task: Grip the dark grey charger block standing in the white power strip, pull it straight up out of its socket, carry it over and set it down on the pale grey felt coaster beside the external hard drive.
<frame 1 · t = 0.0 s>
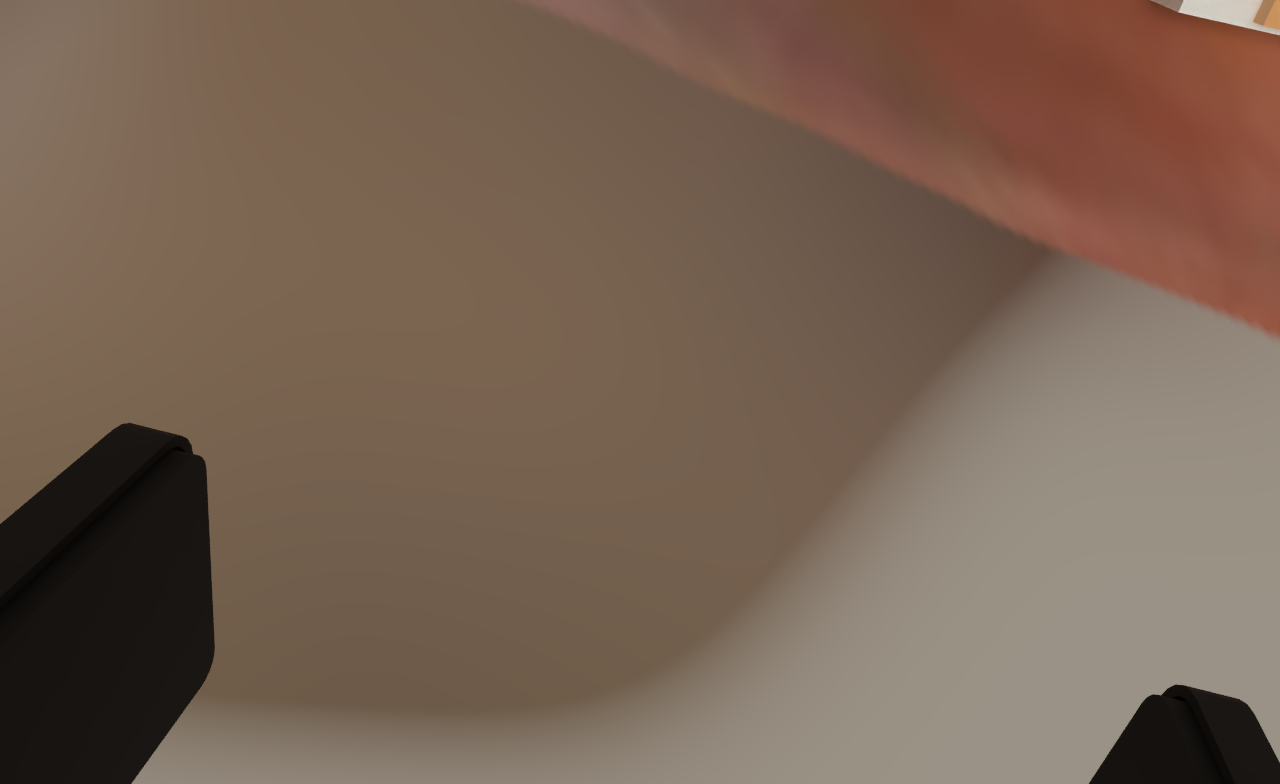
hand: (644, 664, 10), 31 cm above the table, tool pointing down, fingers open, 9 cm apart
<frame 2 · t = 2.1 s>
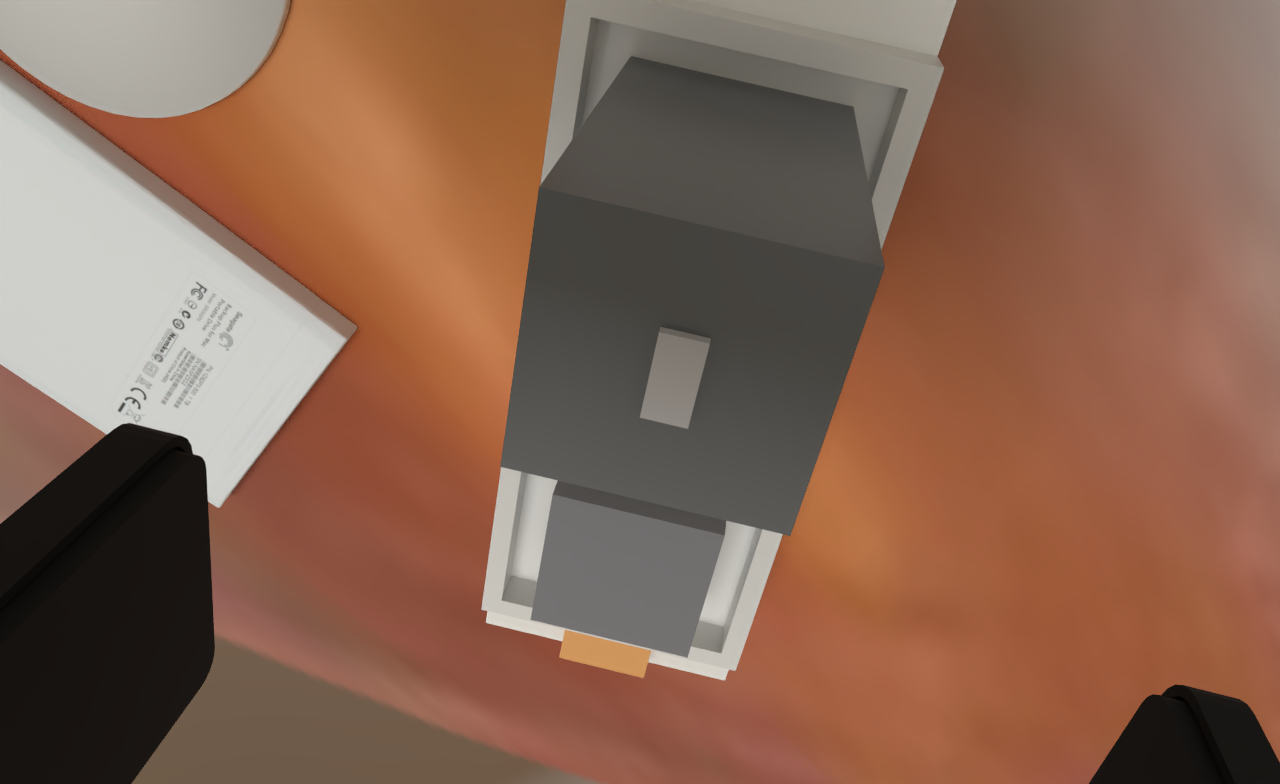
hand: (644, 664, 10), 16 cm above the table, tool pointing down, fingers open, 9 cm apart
external hard drive: (119, 274, 28), on the table
power strip: (689, 297, 25), on the table
charger: (716, 188, 20), point 3 cm above the table, touching power strip
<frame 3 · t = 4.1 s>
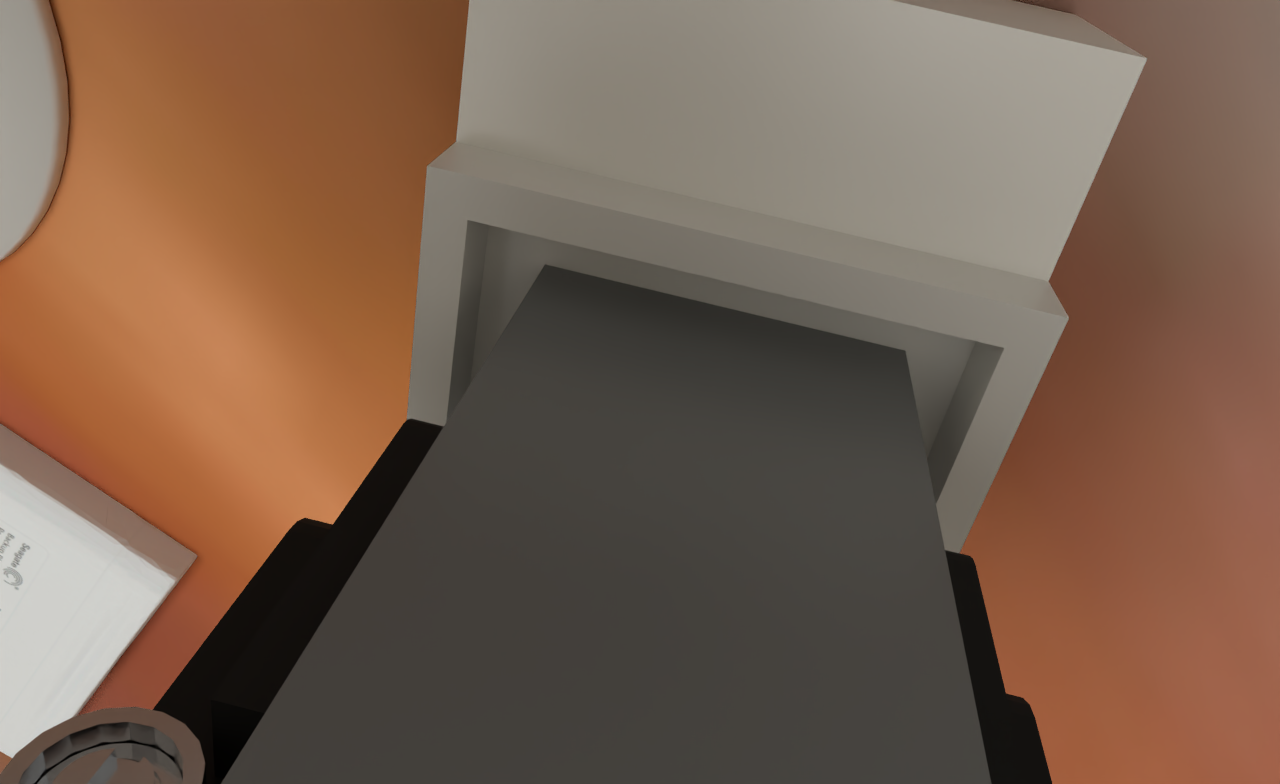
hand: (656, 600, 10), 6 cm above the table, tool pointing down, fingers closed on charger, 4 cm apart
power strip: (656, 545, 18), on the table
charger: (685, 456, 13), point 3 cm above the table, touching gripper, power strip
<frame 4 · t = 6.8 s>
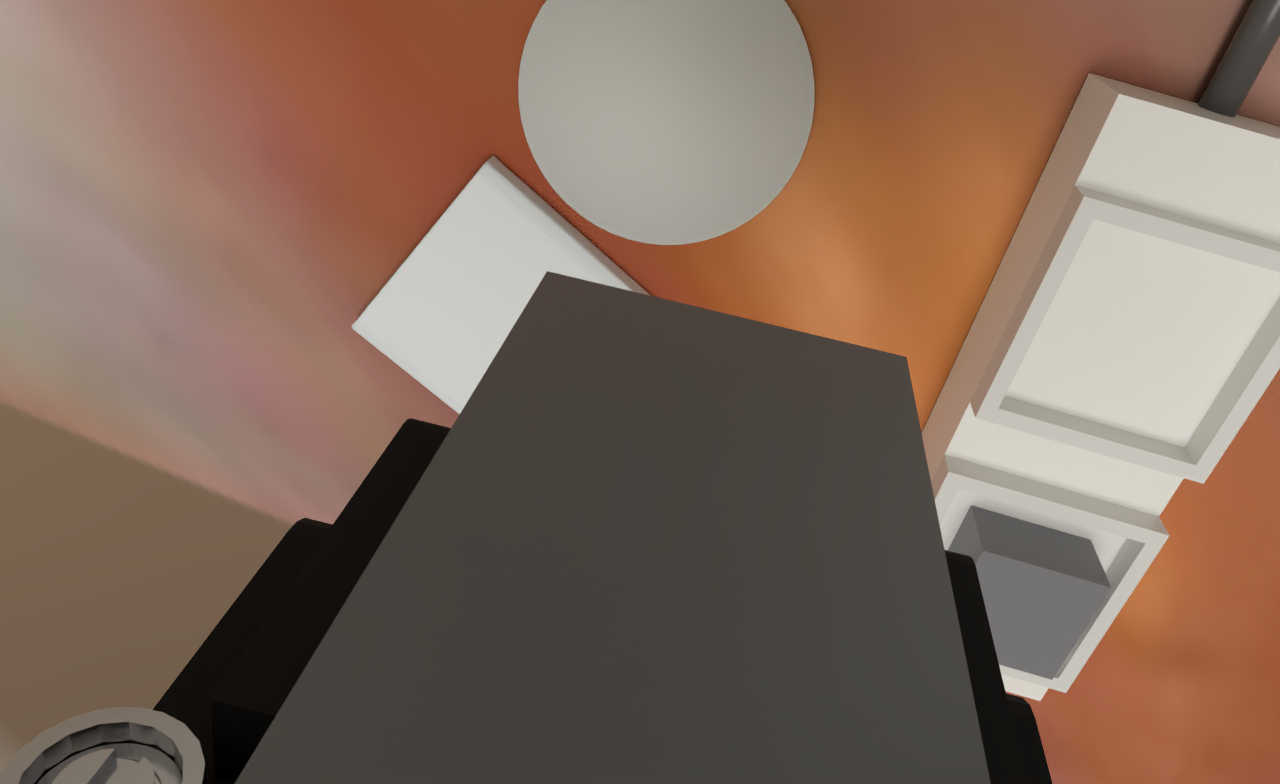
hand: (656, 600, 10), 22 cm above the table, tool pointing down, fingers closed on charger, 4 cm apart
external hard drive: (565, 349, 35), on the table
coaster: (665, 100, 30), on the table
power strip: (1051, 400, 32), on the table
charger: (686, 462, 13), point 19 cm above the table, touching gripper
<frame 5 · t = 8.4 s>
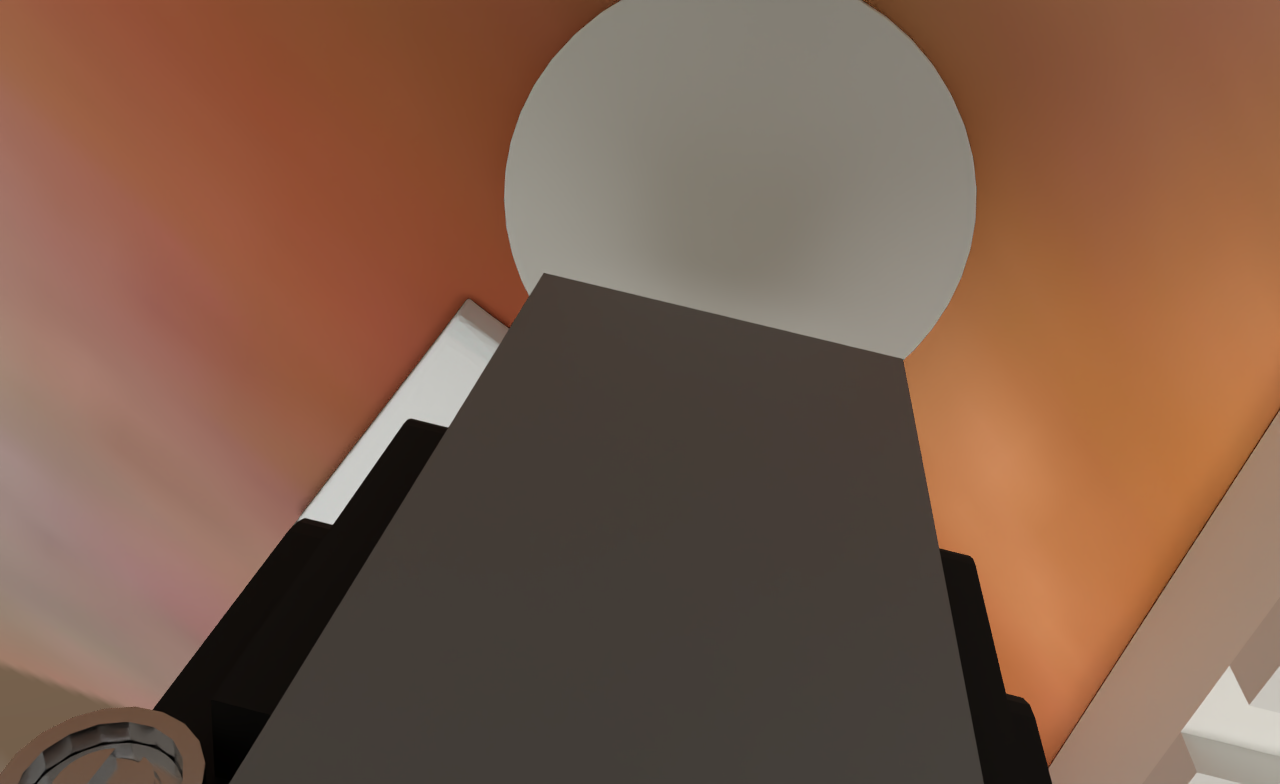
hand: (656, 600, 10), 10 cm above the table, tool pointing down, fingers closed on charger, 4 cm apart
external hard drive: (591, 541, 25), on the table
coaster: (733, 216, 19), on the table
charger: (683, 463, 13), point 8 cm above the table, touching gripper
when the fingers open (5 cm above the table, at t = 9.8 s): charger drops 2 cm, resting on coaster.
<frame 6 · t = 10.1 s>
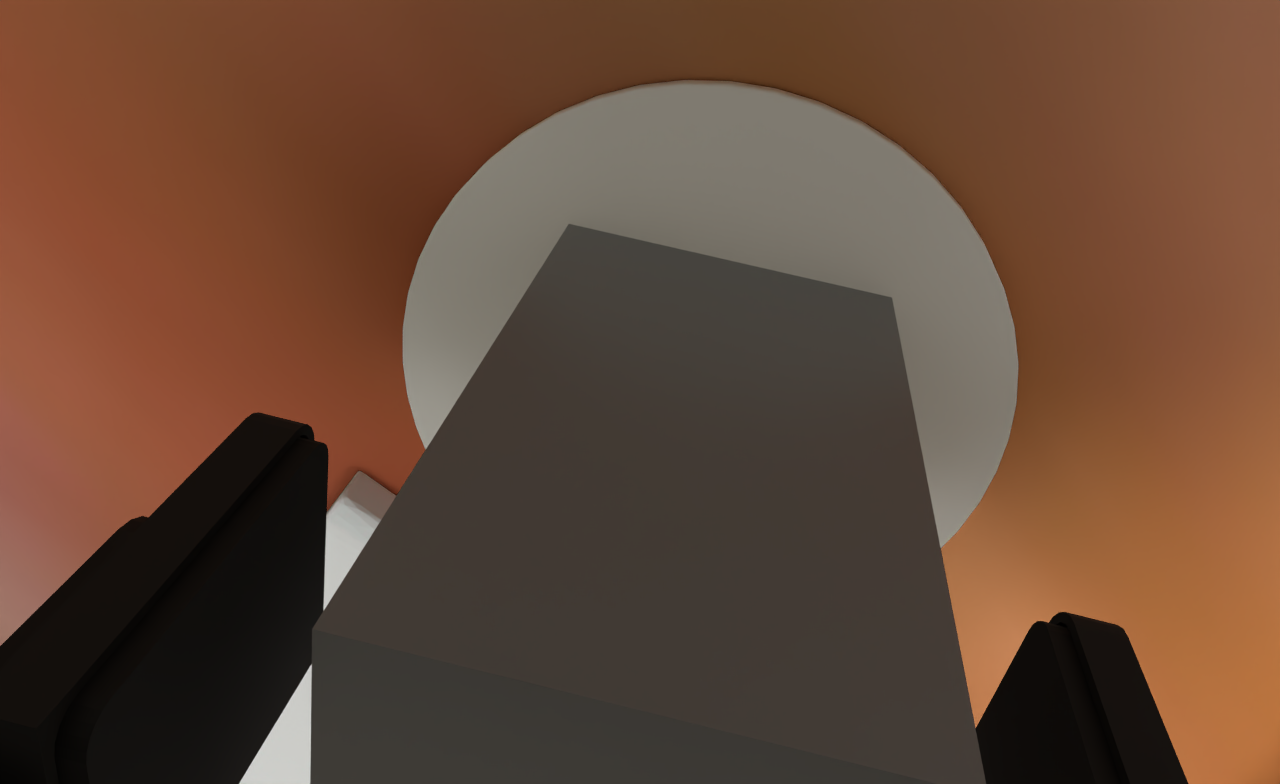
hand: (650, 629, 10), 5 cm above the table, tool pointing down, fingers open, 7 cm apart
external hard drive: (531, 740, 20), on the table
coaster: (699, 386, 15), on the table
charger: (695, 399, 14), resting on coaster
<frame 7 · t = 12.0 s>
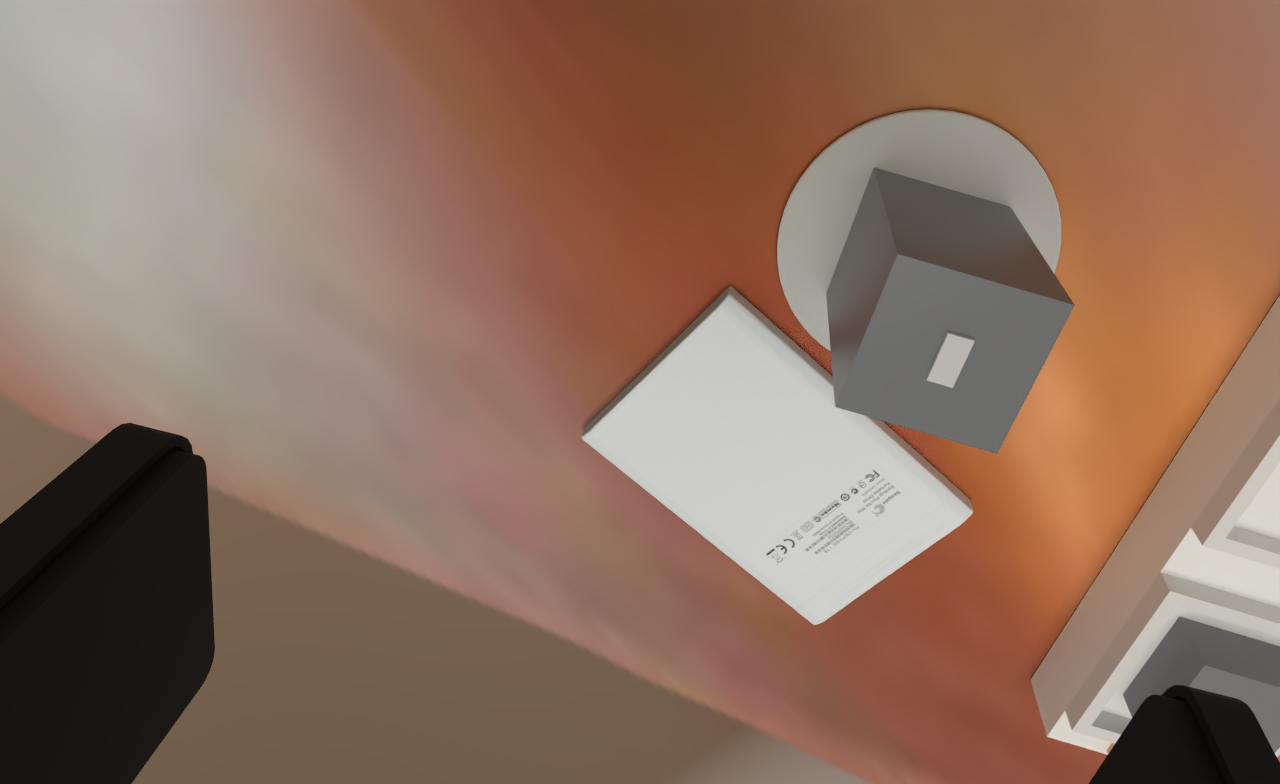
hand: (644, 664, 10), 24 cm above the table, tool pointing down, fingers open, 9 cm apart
external hard drive: (775, 453, 37), on the table
coaster: (914, 247, 32), on the table
power strip: (1246, 516, 35), on the table
charger: (915, 251, 32), resting on coaster
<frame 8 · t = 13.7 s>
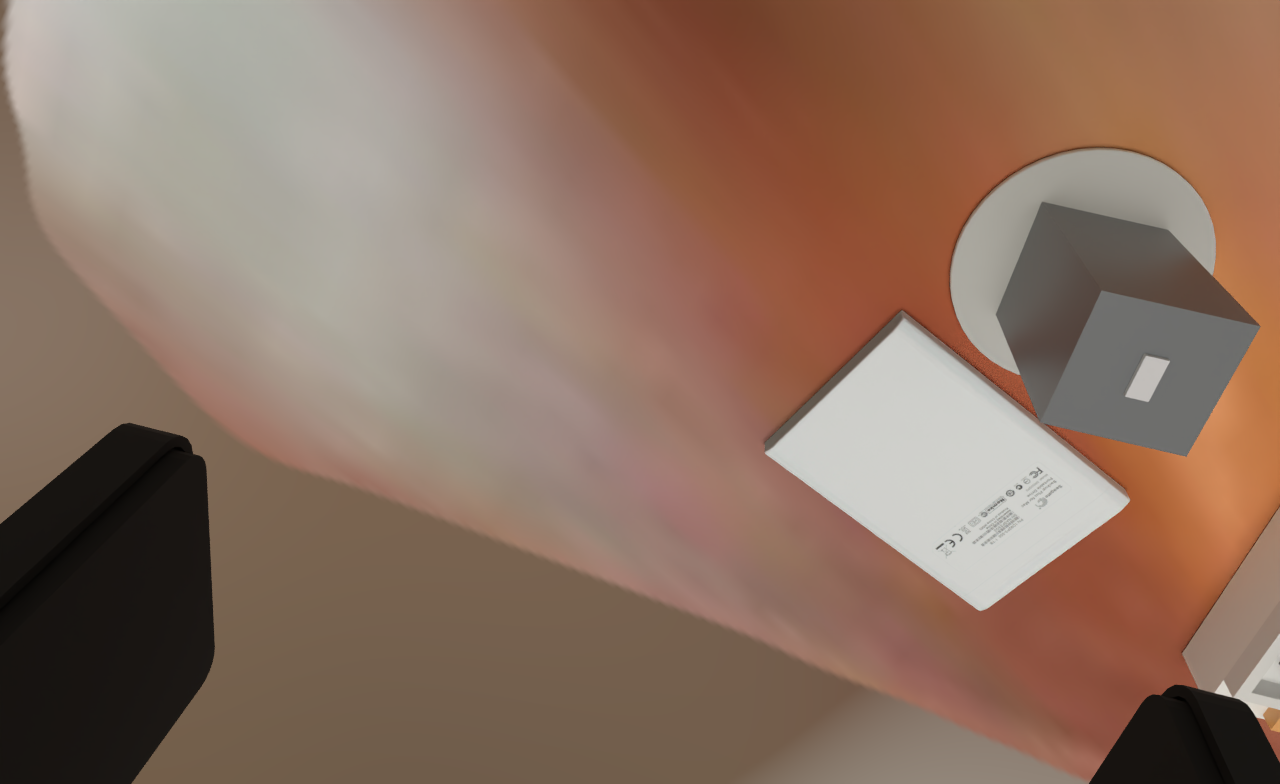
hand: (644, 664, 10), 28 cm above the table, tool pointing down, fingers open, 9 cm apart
external hard drive: (939, 456, 41), on the table
coaster: (1076, 269, 36), on the table
charger: (1079, 273, 35), resting on coaster
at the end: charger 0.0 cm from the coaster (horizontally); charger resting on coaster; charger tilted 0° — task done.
